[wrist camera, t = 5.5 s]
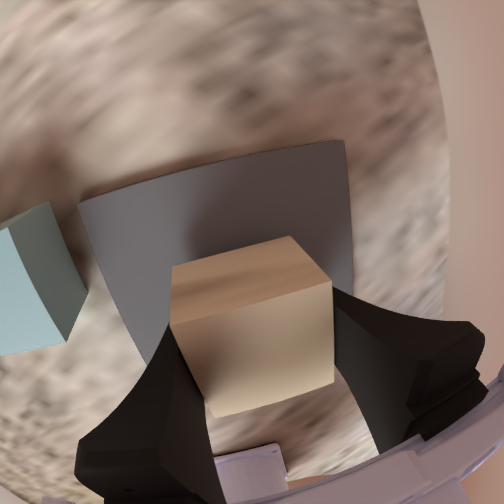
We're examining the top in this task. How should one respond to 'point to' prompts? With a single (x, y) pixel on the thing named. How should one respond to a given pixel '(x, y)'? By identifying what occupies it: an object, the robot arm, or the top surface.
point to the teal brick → (36, 282)
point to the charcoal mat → (217, 224)
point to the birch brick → (254, 325)
